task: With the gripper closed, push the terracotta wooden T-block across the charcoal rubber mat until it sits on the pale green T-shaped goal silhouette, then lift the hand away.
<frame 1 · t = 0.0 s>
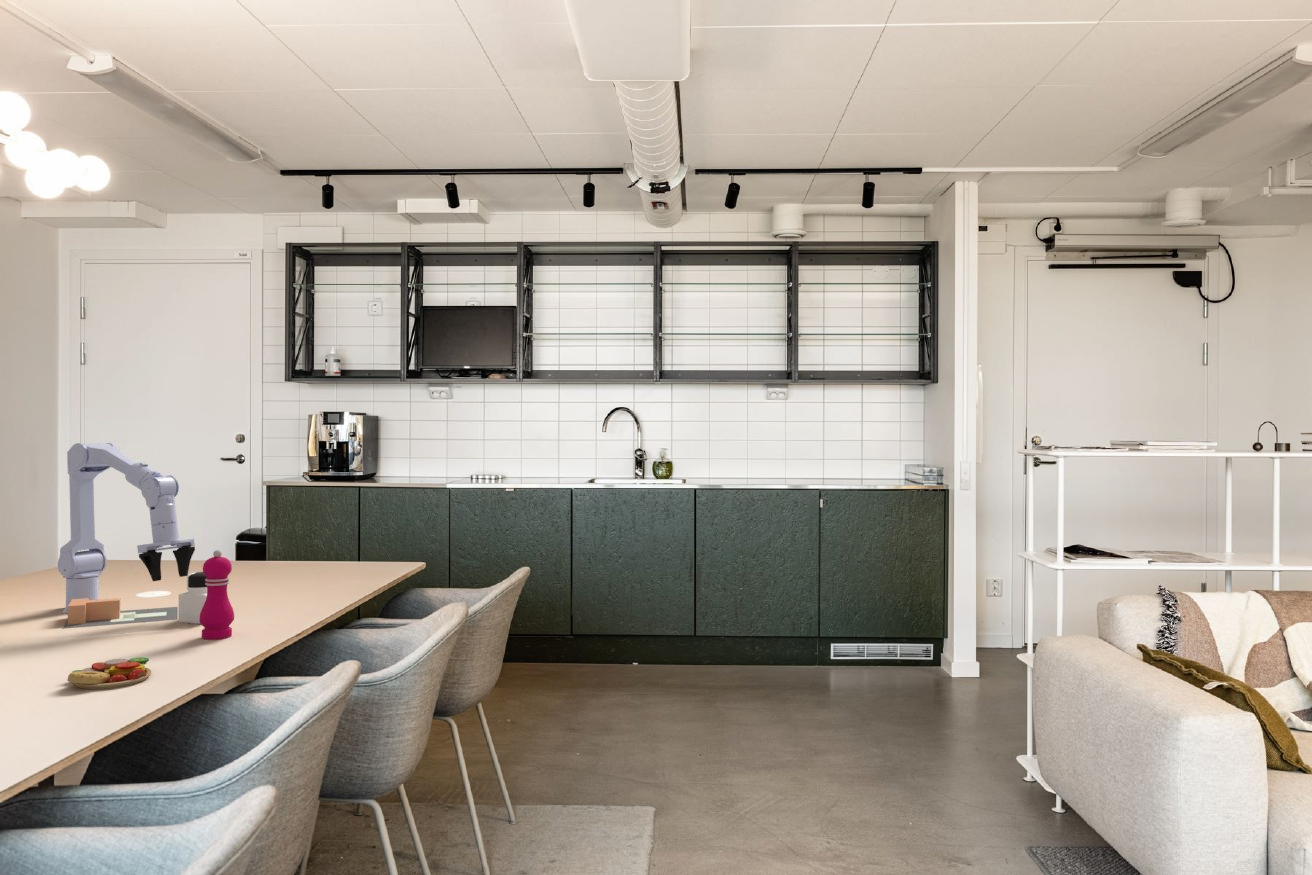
hand: (170, 578, 221), 11 cm above the table, tool pointing down, fingers open, 7 cm apart
pepper mill: (216, 637, 205), on the table
t block: (78, 620, 219), resting on mat
toy food set: (111, 682, 169), on the table
mat: (123, 618, 224), on the table
medicine bottle: (200, 621, 222), on the table
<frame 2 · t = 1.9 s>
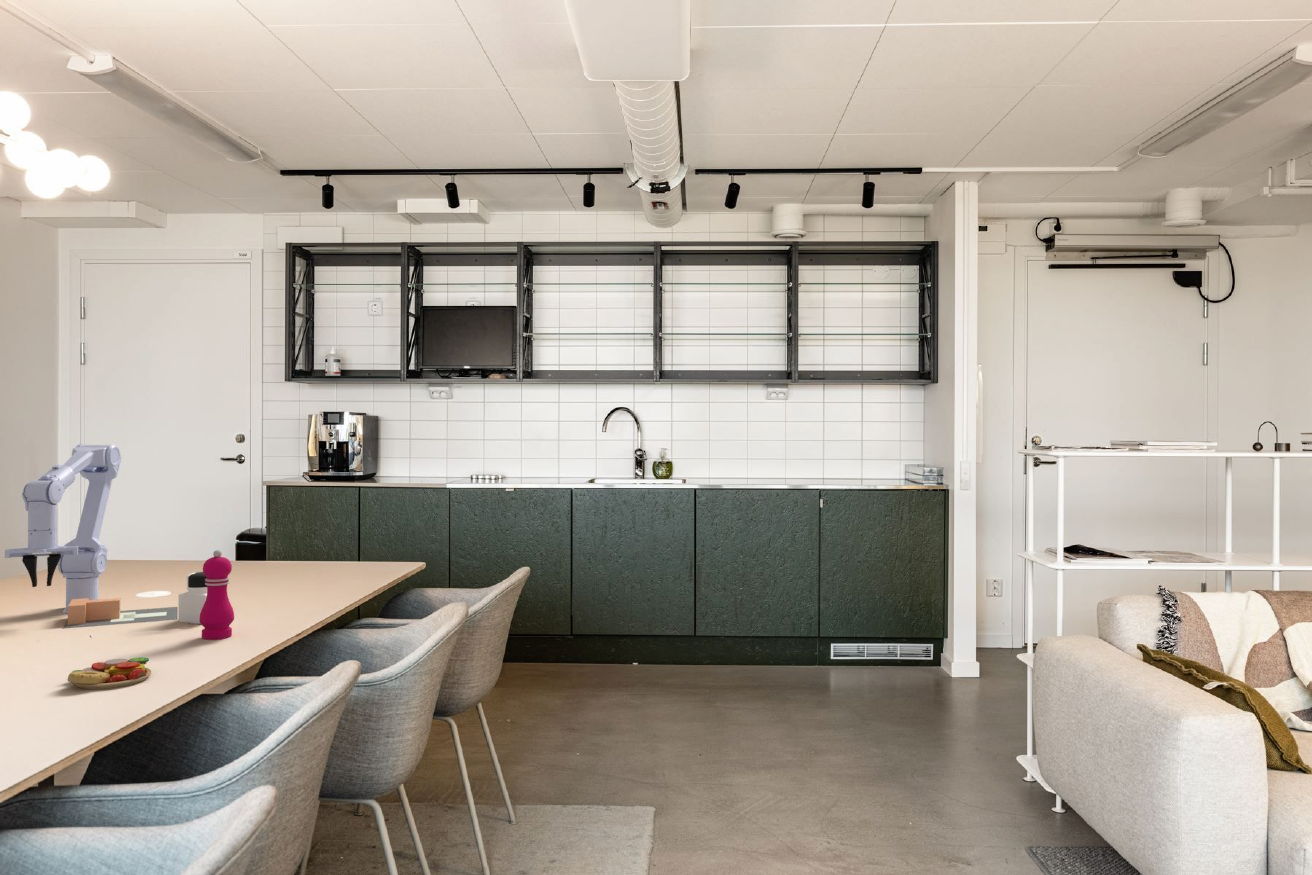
hand: (41, 585, 216), 9 cm above the table, tool pointing down, fingers closed
nothing on the table moved.
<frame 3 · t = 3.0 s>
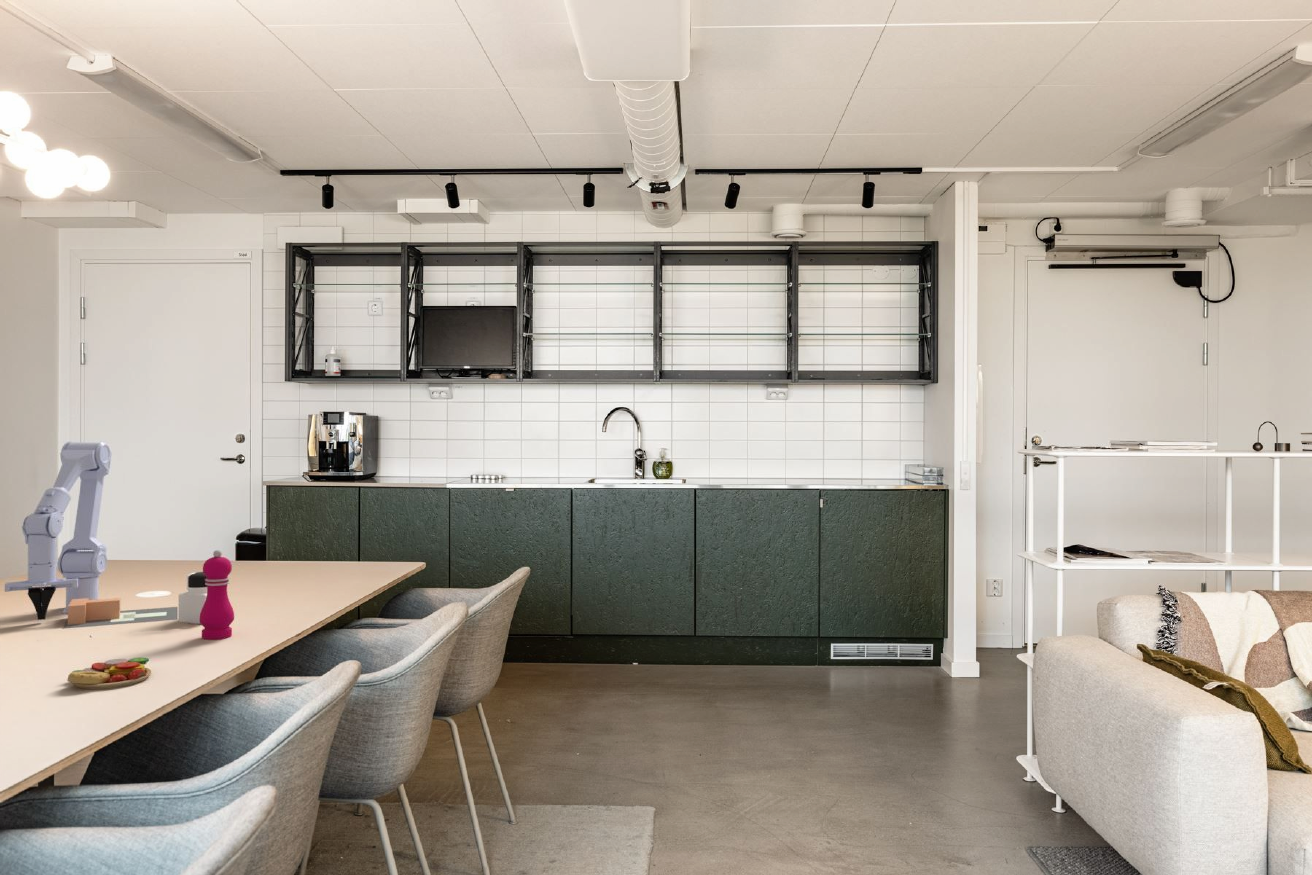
hand: (41, 618, 216), 1 cm above the table, tool pointing down, fingers closed
nothing on the table moved.
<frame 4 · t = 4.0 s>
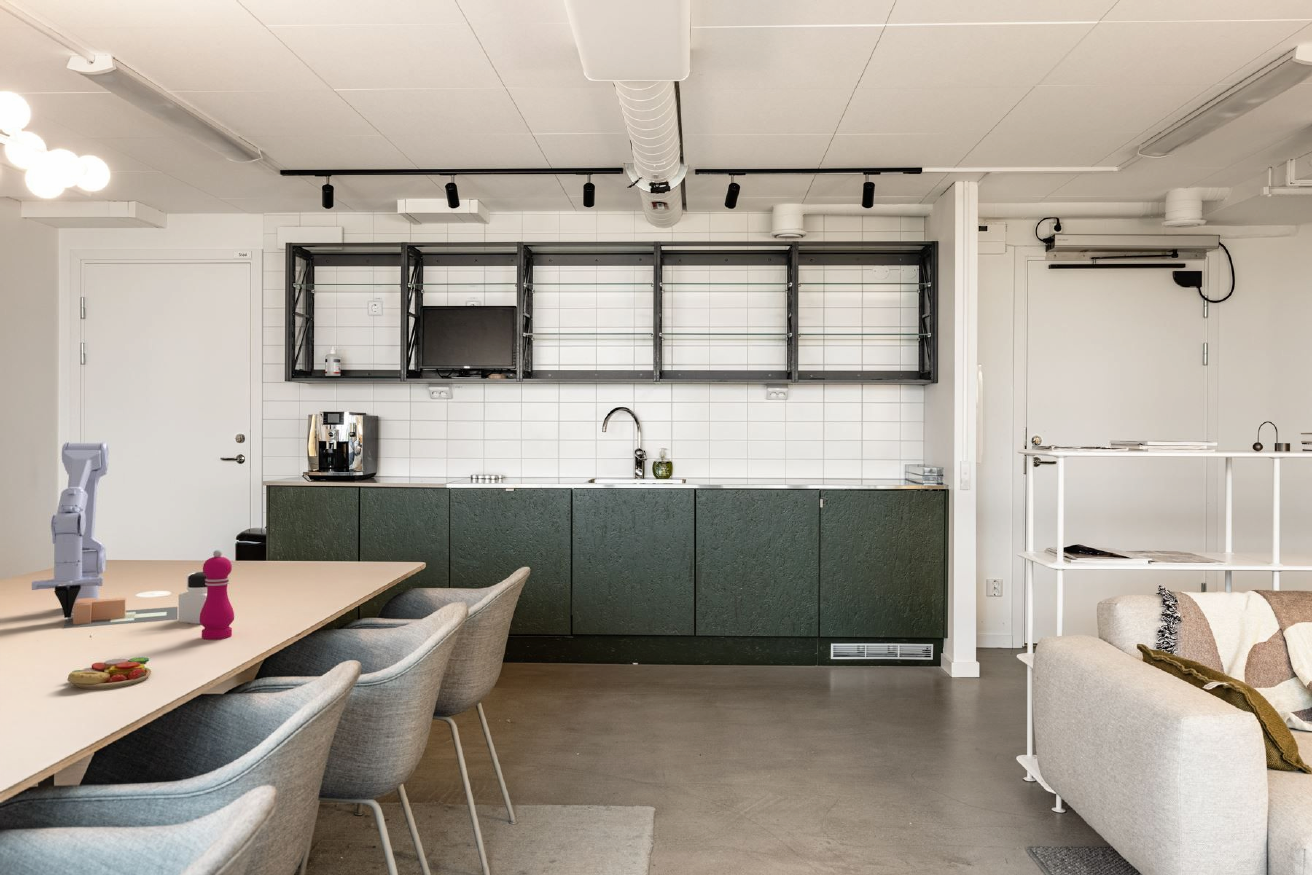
hand: (67, 616, 218), 1 cm above the table, tool pointing down, fingers closed
t block: (84, 619, 220), resting on mat, touching gripper
everything else where it was.
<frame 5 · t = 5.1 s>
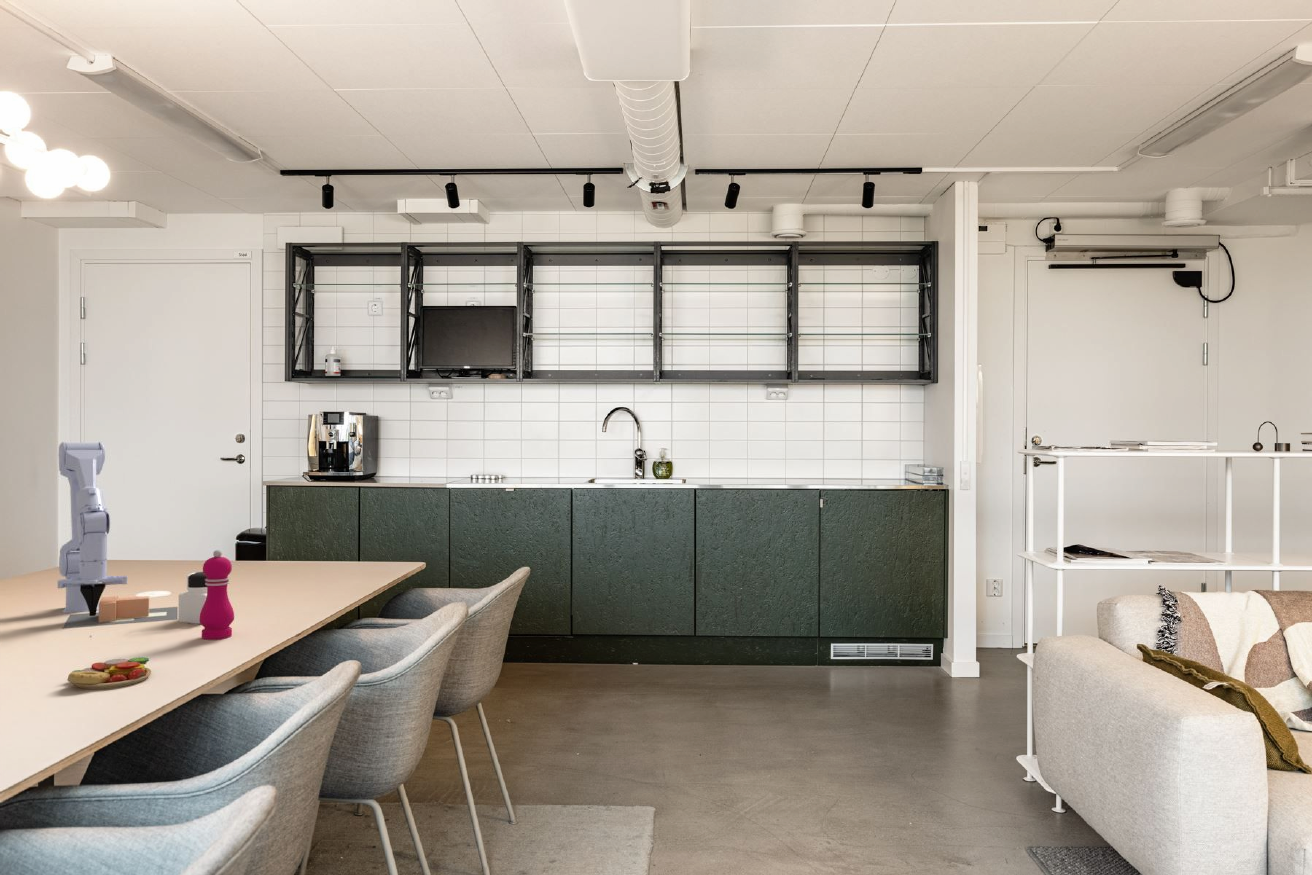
hand: (92, 615, 221), 1 cm above the table, tool pointing down, fingers closed
t block: (108, 617, 222), resting on mat, touching gripper
everything else where it was.
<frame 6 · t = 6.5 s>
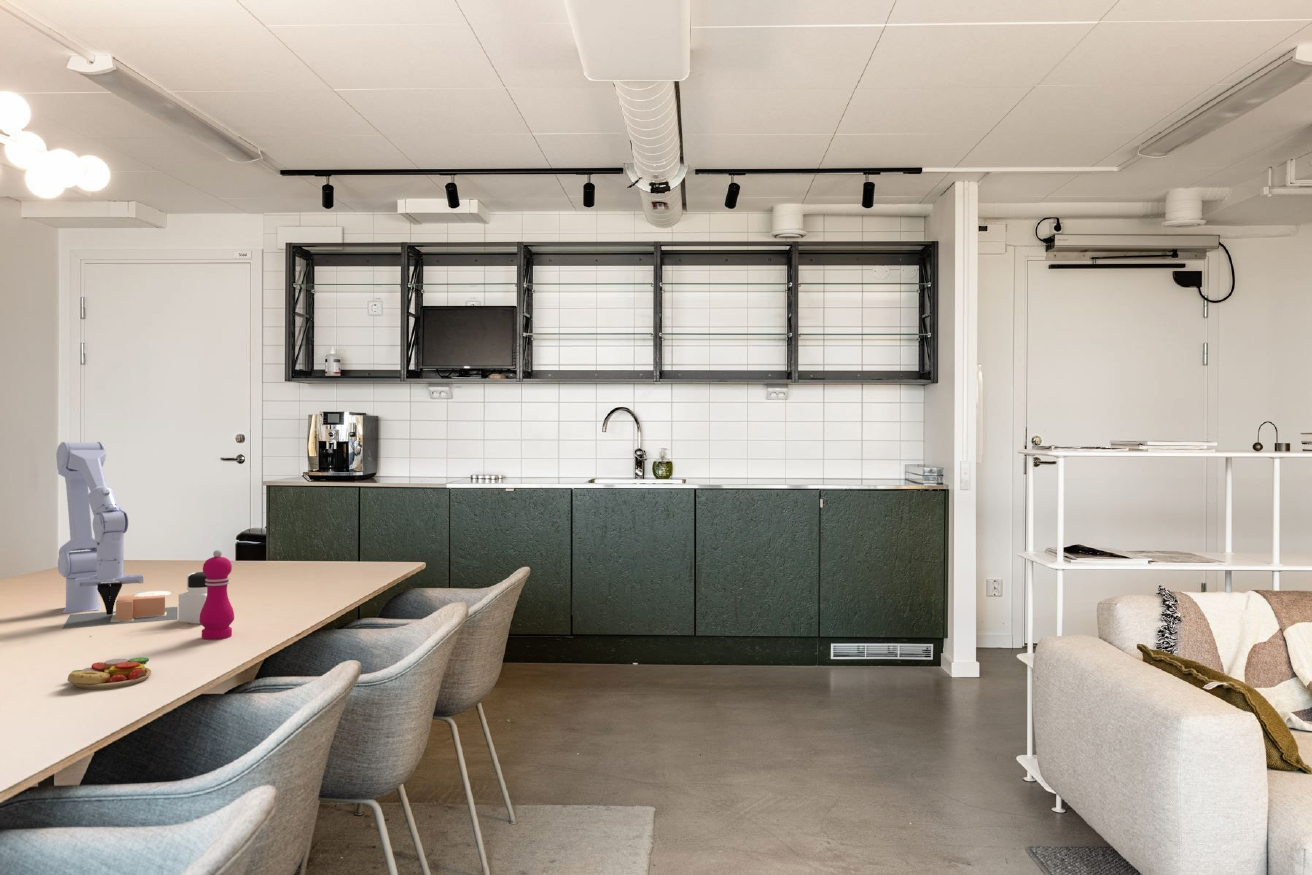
hand: (109, 613, 222), 1 cm above the table, tool pointing down, fingers closed
t block: (125, 616, 224), resting on mat, touching gripper
everything else where it was.
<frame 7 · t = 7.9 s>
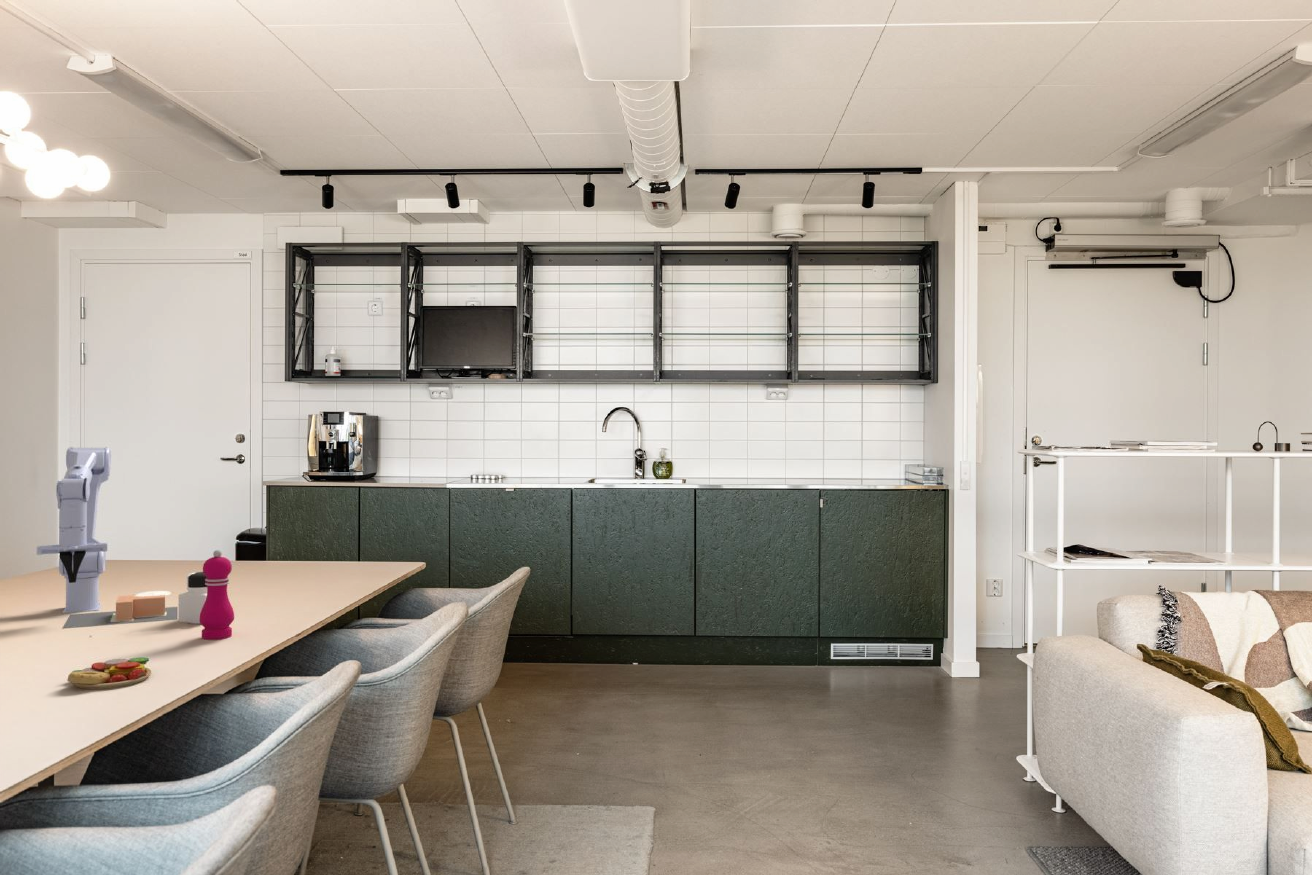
hand: (72, 582, 219), 10 cm above the table, tool pointing down, fingers closed
t block: (125, 616, 224), resting on mat
everything else where it was.
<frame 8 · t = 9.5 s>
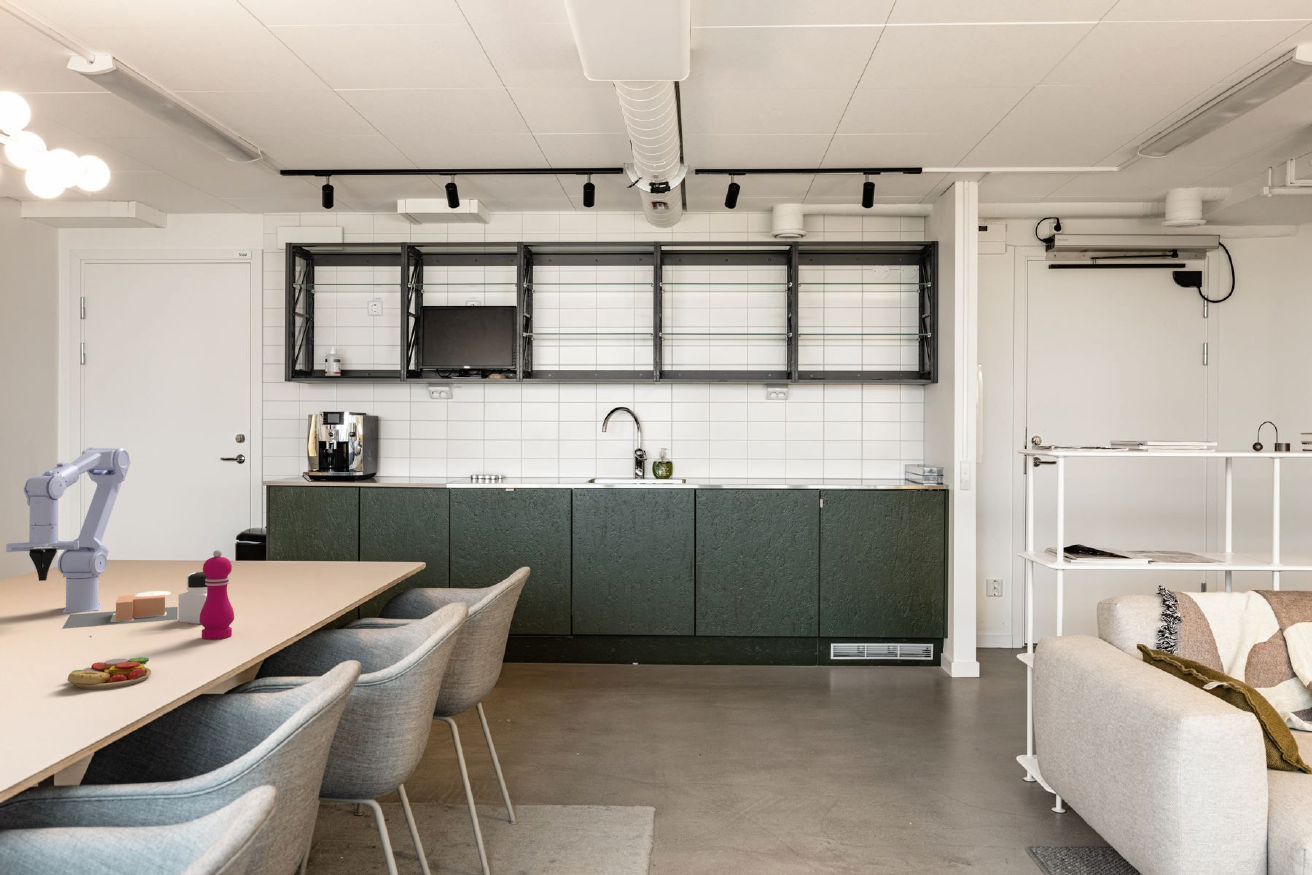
hand: (42, 580, 218), 10 cm above the table, tool pointing down, fingers closed
nothing on the table moved.
at the end: t block 0.4 cm off-centre on the mat, point 0.4 cm above the mat's base; t block moved 9.9 cm from its start; t block tilted 0° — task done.
